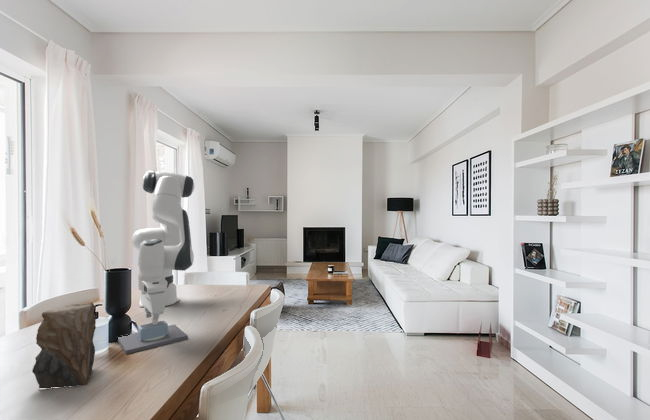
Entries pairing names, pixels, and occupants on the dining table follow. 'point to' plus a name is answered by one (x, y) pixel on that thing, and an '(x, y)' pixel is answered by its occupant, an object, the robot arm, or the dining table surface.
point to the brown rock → (65, 346)
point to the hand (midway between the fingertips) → (151, 320)
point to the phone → (152, 330)
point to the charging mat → (151, 340)
